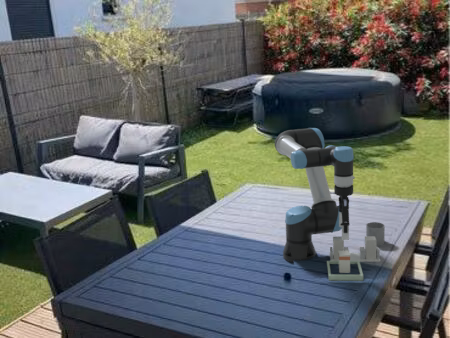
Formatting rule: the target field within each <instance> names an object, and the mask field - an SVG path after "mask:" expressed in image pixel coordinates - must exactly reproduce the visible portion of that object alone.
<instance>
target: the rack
mask: <svg viewBox="0 0 450 338" xmlns="http://www.w3.org/2000/svg"><path fill="white" fill-rule="evenodd" d="M344 251H349V252H350V249H349V247H348V246H344ZM380 253H381V252H380V248H379V246H376V259H366V257H365V246H360V247H359V252H350V261H360V263H361V262H370V263H372V262H373V263H374V262H376V263H377V262H381V259H380ZM329 259H330V260H329V261H339V259H334V257H333V247H332V246H330V247H329Z"/></svg>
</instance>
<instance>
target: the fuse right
mask: <svg viewBox="0 0 450 338" xmlns="http://www.w3.org/2000/svg"><path fill="white" fill-rule="evenodd" d="M376 247H377V245H376V238H375V236H366V235H365V236H364V249H365V257H366V259H376Z"/></svg>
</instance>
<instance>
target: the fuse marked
mask: <svg viewBox="0 0 450 338" xmlns="http://www.w3.org/2000/svg"><path fill="white" fill-rule="evenodd" d="M350 253H351V252H350V250H349V251H339V264H338V274H339V273H340V274H351V264H350Z"/></svg>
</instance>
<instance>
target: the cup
mask: <svg viewBox="0 0 450 338" xmlns="http://www.w3.org/2000/svg"><path fill="white" fill-rule="evenodd" d="M365 225H366V228H365V230H366V231H365V232H366V233H365V236H375V238H376V246H382V245H384V244H385V227H386V226H385V224H384V223H382V222H377V221H375V222H374V221H373V222H368V223H366V224H365Z"/></svg>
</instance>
